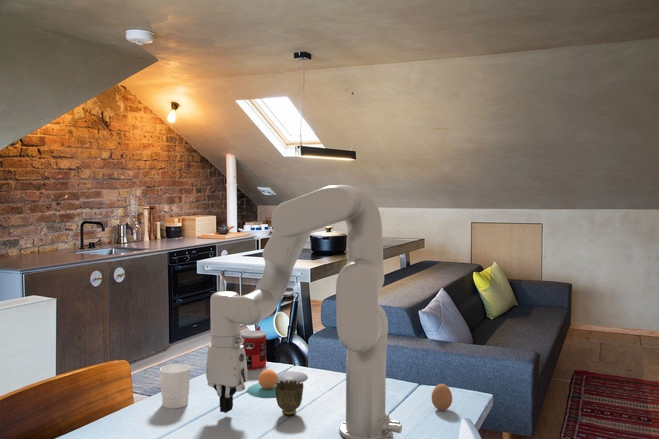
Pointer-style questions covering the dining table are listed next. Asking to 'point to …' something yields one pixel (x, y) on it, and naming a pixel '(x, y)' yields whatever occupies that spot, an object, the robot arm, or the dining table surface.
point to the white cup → (175, 385)
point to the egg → (441, 397)
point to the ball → (268, 379)
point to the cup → (289, 396)
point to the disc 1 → (261, 391)
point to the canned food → (255, 349)
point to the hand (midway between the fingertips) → (226, 410)
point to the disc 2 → (291, 376)
